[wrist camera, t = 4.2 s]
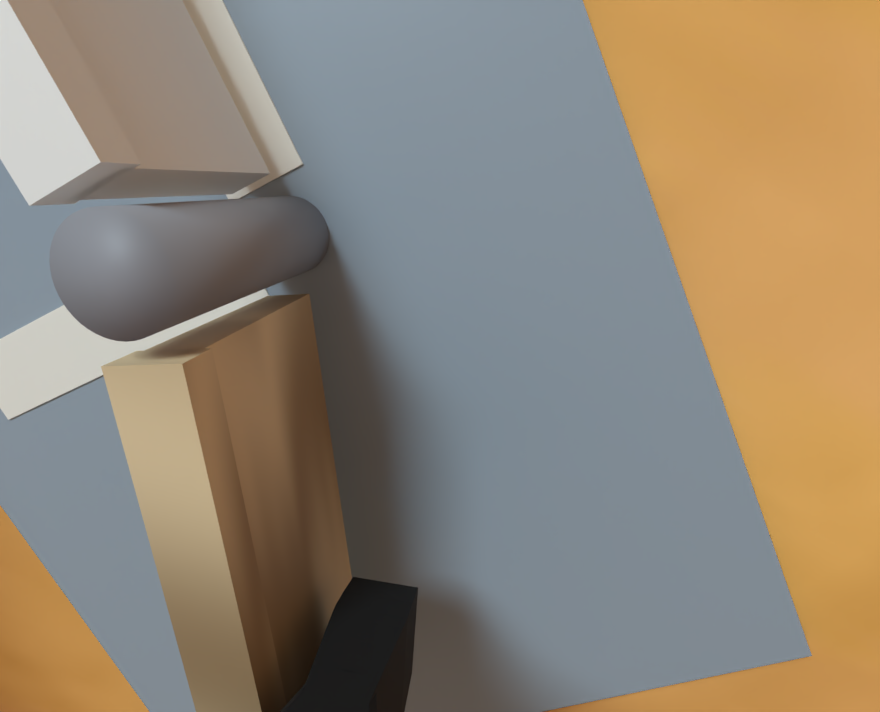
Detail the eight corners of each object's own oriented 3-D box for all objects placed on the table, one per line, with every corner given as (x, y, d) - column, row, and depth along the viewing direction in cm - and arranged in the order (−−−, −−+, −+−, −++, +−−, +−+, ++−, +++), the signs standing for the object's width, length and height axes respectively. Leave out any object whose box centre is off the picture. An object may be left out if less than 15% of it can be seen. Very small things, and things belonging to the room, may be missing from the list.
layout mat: (206, 771, 15) (200, 783, 15) (-404, -82, 10) (-433, -90, 10) (804, 644, 11) (812, 657, 11) (280, -846, 6) (268, -900, 6)
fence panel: (269, 291, 10) (85, 369, 6) (328, 288, 10) (185, 366, 6) (330, 645, 13) (231, 881, 8) (379, 648, 13) (304, 892, 8)
